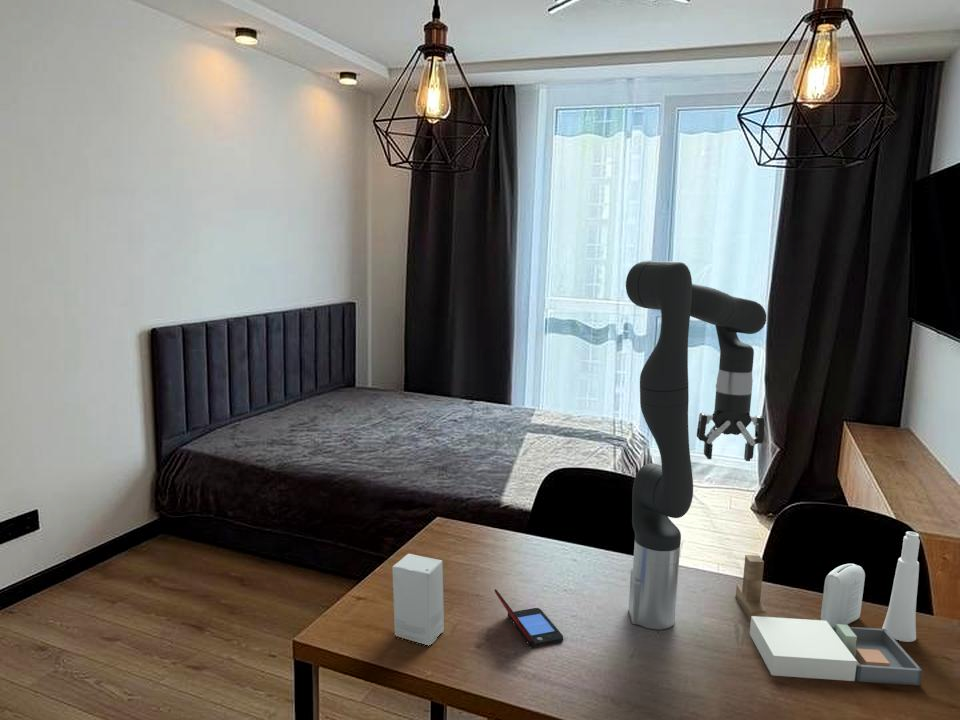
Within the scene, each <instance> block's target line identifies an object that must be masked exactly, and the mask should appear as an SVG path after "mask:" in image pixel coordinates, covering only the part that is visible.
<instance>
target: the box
mask: <svg viewBox="0 0 960 720" xmlns="http://www.w3.org/2000/svg"><path fill="white" fill-rule="evenodd" d="M849 627H850V629H851V630H852V631H853V632H854V634H855V635H856V636H857V640H856V648H855V653H856V649H871V650H879V651H880V652H881V653H882V654H883V655H884V657H885V658H886V659H887V660H888V661H889V663H890V667H888V666H874V665H860V664H859V663H858V661H857V660H856V661H857V665H856V673H855V681H856V682H861V683H875V684H888V685H889V684H890V685H891V684H892V685H906V686H921V684H922V678H923V677H922V676H923V670H922V669H921V667H920V666H919V665H918V664H917V663H916V662H915V660H914V659H913V658H912V657H911V656H910V655H909V654H908V653H907V651H906V650H905V649H904V648H903V647H902V646H901V644H899V643H898V641H897V640H895V639H894V638H893V637H892V636H891V635H890V634H889V633H888V632H887V630H886V629H882V628H876V627H875V628H874V627H873V628H872V627H858V626H857V627H856V626H849ZM831 628H832V629H833V630H834V632H835V633H836V626H831ZM838 637H839V636H838ZM841 641H842V640H841ZM844 645H845V644H844ZM845 646H846V645H845ZM847 649H848V648H847ZM848 650H849V649H848ZM850 653H851V652H850ZM851 654H852V653H851ZM853 657H854V658H855V656H853Z"/></svg>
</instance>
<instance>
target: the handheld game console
mask: <svg viewBox="0 0 960 720" xmlns="http://www.w3.org/2000/svg"><path fill="white" fill-rule="evenodd" d="M494 593H495V595H496V596H497V598H498V600H499V601H500V602H501V604H502V605H503V606H504V607H503V608H504V609H505V610H506V612H507V618H508V617H509V618H510V619H511V620H512V621H511V620H510V619H509V618H508V619H509V620H510V621H511V622H514V624H515V626H516V627H517V628H516V627H515V626H514V627H515V628H516V629H517V630H518V631H519V632H520V634H521V636H522V638H523V637H524V638H523V639H524V640H525V642H526V641H527V642H528V643H527V642H526V643H527V644H528V646H529V648H530V647H531V648H530V649H534V648H539V647H546V646H549V645H554V644H560V643H562V642H563V641H564V635H563V634H562V633H561V632H560V631H559V629H558V628H557V627H556V626H555V624H554V623H553V621H551V620H550V619H549V617H548V616H547V615H546V614H545V612H544V611H543V610H542V609H541V608H539V607H533V608H526V609H521V610H515V611H514V610H512V608H511V607H510V605H508V603H507V602H506V600H505V599H504V597H502V595H501V594H500V593H499V591H498V590H497V589H494ZM514 624H513V625H514Z"/></svg>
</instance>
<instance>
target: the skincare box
mask: <svg viewBox="0 0 960 720" xmlns="http://www.w3.org/2000/svg"><path fill="white" fill-rule="evenodd" d="M443 572H444V571H443V560H441V559H437V558H432V557H428V556H427V557H426V556H423V555H422V556H421V555H417V554H413V553H407V554H406V555H404V556H403V557H402V558H401V559H400V560H398V561H397V562H396V563H395V564H393V566H392V590H393V593H392V594H393V615H394V616H393V618H394V619H393V620H394V622H393V623H394V636H395V635H396V636H399V637H402V638H405V639H409V640H412V641H415V642H418V643H422V644H425V645H428V646H429V645H431V644H434V643H435V641H437V639H438V638H439V637H440V636H441V635H442V634H443V632H444V631H445V625H444V624H445V622H444V621H445V620H444V619H445V618H444V617H445V615H444V614H445V613H444V577H443V576H444V574H443ZM441 633H442V634H441ZM440 634H441V635H440ZM439 635H440V636H439ZM438 636H439V637H438ZM437 637H438V638H437ZM418 643H417V644H418ZM425 645H424V646H425ZM428 646H427V647H428ZM429 647H430V646H429Z"/></svg>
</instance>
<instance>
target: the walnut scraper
mask: <svg viewBox="0 0 960 720" xmlns="http://www.w3.org/2000/svg"><path fill="white" fill-rule="evenodd" d="M744 556H745V557H744V567H743V576H742V584H739V583H737V584H736V586H735V587H736V588H735V597H736V600H737V602H738V603H739V605H740V607H741V609H742V611H743V612H744V614H745V616H746V618H747V619H748V621H749V623H750V624H751V616H759V617H767V610H766V608H765V607H764V605H763V603H762V601H761V598H762V597H761V596H762V586H763V574H764V565H765V561H764V560H763V558H762V557H761V555H758V554H757V555H754V554H753V555H752V554H751V555H750V554H745V555H744Z"/></svg>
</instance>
